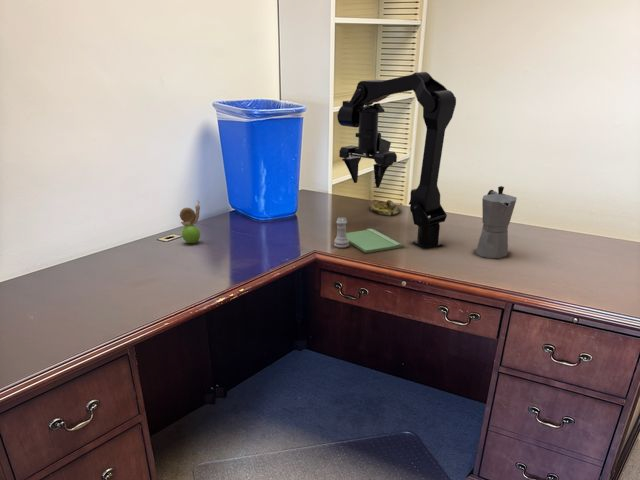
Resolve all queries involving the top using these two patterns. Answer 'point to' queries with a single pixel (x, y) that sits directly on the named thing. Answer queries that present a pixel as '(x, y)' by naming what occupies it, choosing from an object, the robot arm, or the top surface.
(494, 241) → the coffeepot
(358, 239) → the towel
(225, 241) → the top surface
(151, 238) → the top surface
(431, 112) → the robot arm
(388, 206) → the olive lumpy piece
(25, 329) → the top surface
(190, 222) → the snail figurine
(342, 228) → the rook chess piece
